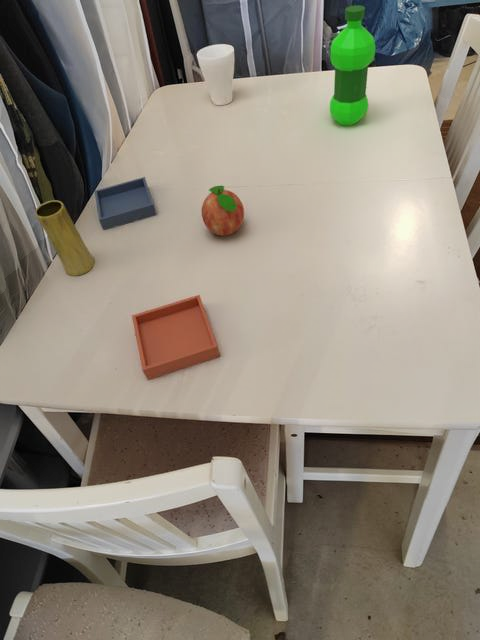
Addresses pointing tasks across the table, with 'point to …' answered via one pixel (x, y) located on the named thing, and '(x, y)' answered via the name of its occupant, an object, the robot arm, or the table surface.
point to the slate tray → (124, 203)
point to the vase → (64, 237)
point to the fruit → (222, 211)
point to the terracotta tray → (174, 337)
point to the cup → (218, 71)
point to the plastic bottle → (351, 68)
